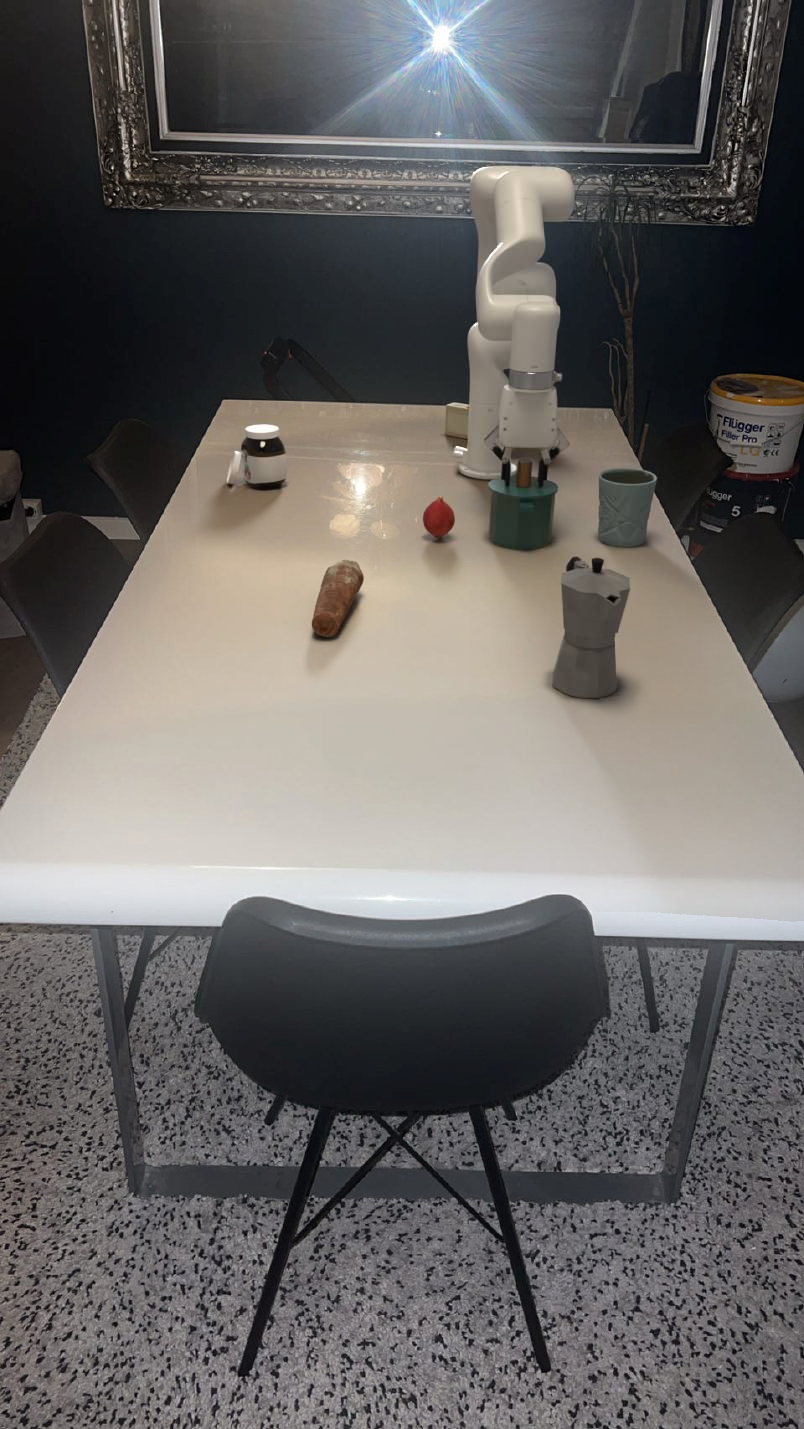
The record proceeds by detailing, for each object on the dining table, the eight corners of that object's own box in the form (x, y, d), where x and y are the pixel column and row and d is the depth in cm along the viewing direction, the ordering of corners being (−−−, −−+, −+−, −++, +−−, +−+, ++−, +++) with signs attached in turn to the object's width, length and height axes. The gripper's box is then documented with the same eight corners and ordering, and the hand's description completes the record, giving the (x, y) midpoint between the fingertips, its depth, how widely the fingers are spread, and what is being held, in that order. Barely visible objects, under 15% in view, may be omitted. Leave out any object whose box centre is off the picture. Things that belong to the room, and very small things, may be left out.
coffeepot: (636, 702, 136) (654, 574, 127) (569, 710, 134) (582, 580, 125) (591, 652, 149) (605, 533, 140) (529, 658, 147) (539, 537, 138)
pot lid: (490, 501, 181) (492, 470, 178) (486, 480, 192) (488, 450, 189) (561, 502, 181) (564, 471, 178) (553, 482, 192) (555, 451, 189)
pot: (491, 554, 183) (494, 502, 179) (485, 523, 198) (488, 474, 193) (556, 555, 183) (560, 503, 179) (545, 524, 198) (549, 475, 193)
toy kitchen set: (481, 420, 268) (484, 359, 261) (539, 430, 260) (544, 367, 253) (444, 435, 255) (446, 371, 247) (504, 446, 247) (508, 380, 239)
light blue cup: (658, 539, 191) (667, 475, 185) (629, 553, 185) (637, 487, 179) (611, 526, 197) (619, 464, 191) (581, 539, 191) (588, 475, 185)
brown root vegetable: (365, 592, 168) (364, 559, 165) (340, 642, 151) (340, 607, 148) (326, 589, 168) (326, 557, 166) (298, 639, 152) (297, 604, 149)
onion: (417, 541, 189) (418, 498, 185) (429, 531, 193) (430, 489, 190) (447, 545, 187) (449, 502, 183) (458, 535, 192) (460, 493, 188)
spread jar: (292, 487, 216) (290, 431, 210) (243, 496, 211) (240, 439, 205) (265, 473, 225) (262, 419, 219) (218, 481, 219) (213, 426, 213)
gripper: (578, 376, 180) (568, 478, 189) (479, 374, 180) (474, 477, 189) (584, 385, 173) (574, 491, 182) (482, 383, 173) (476, 489, 182)
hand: (523, 483), depth 185 cm, fingers open, 5 cm apart
